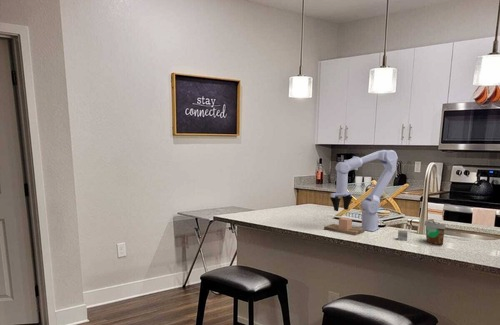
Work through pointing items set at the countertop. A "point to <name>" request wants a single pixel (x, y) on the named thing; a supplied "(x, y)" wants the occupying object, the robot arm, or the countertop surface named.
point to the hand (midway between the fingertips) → (341, 210)
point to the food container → (434, 232)
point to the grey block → (402, 235)
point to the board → (350, 231)
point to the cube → (345, 223)
